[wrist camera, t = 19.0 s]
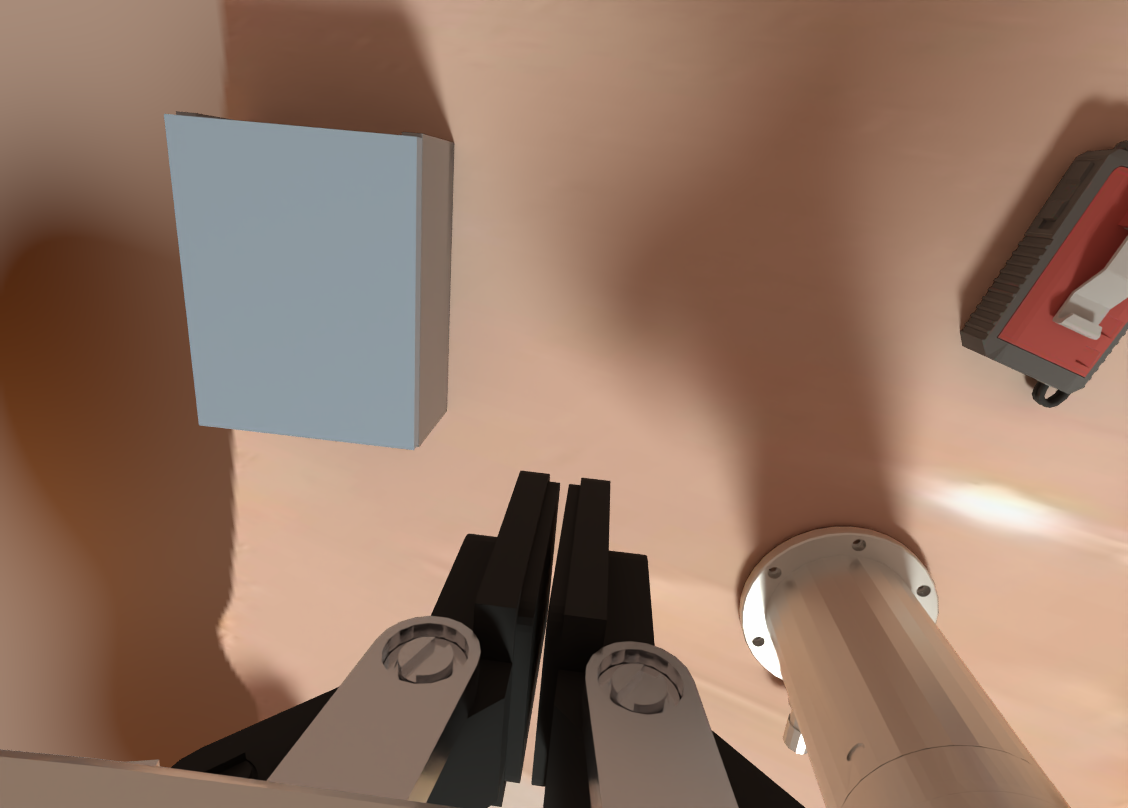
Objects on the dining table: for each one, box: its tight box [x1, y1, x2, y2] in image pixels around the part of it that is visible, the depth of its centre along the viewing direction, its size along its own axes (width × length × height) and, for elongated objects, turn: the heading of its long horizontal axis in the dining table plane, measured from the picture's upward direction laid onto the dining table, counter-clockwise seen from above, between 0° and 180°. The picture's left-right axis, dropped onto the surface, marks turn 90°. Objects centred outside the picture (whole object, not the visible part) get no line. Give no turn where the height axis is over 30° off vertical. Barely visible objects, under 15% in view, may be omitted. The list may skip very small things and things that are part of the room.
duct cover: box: [164, 114, 422, 450], centre depth 32 cm, size 16×12×1 cm
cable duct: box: [176, 112, 454, 447], centre depth 35 cm, size 16×12×6 cm
